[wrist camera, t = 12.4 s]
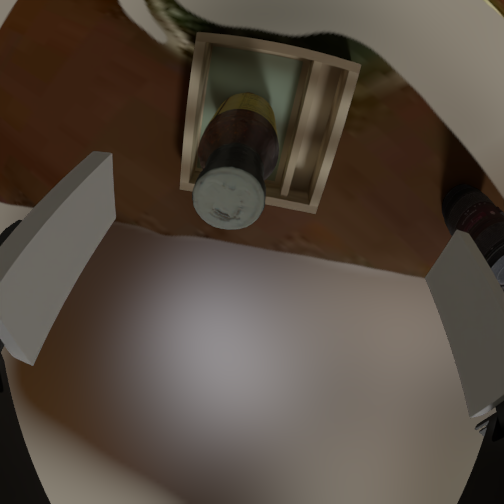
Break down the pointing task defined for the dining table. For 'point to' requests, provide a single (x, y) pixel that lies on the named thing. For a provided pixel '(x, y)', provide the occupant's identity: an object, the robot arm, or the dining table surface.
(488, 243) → the camera lens
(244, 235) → the dining table surface
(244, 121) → the sauce bottle
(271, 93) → the box
